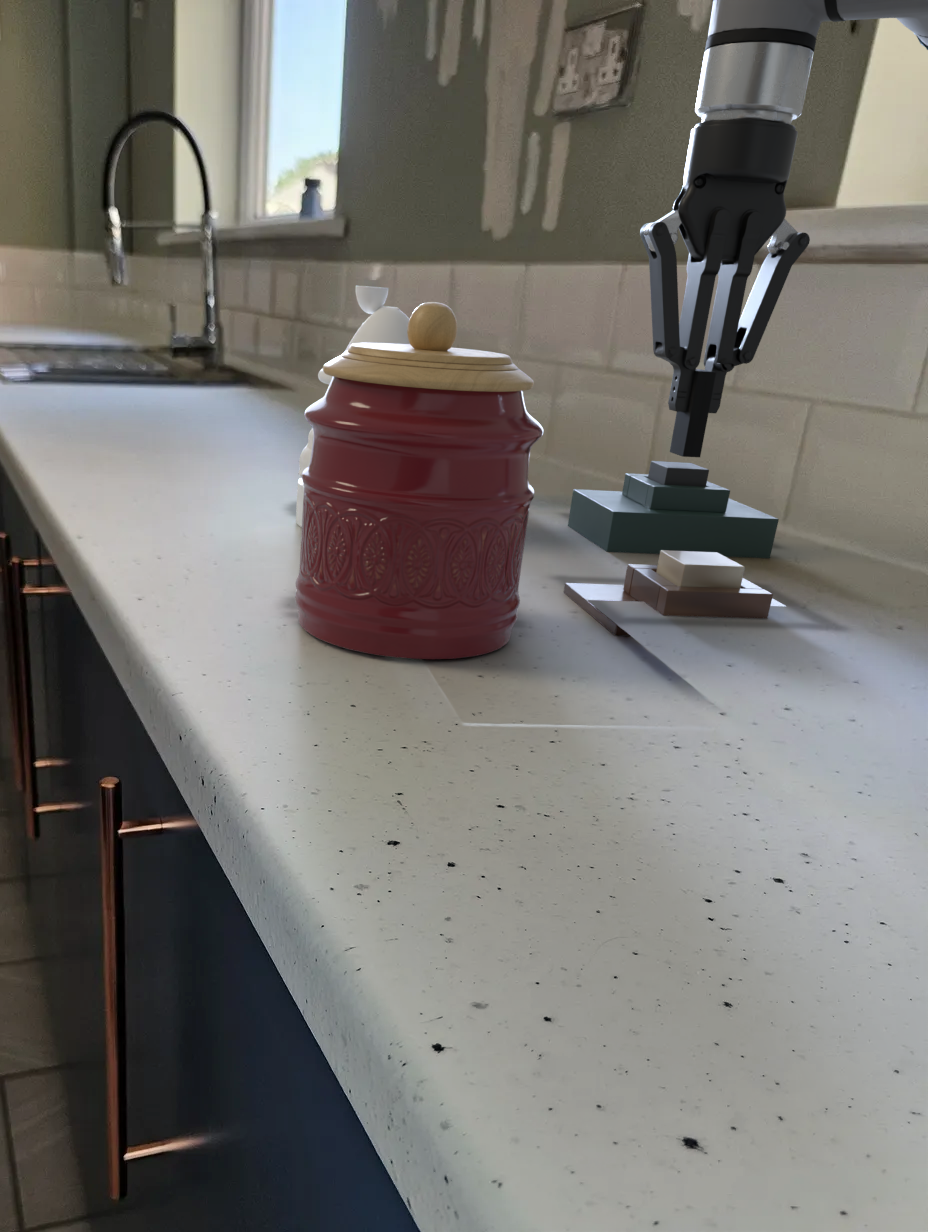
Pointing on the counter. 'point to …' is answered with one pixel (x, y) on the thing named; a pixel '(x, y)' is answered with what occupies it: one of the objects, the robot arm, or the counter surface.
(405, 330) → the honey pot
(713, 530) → the tiered step pyramid
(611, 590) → the stepped block pedestal
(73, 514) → the counter surface
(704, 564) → the ivory key
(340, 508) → the kitchen canister
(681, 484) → the ebony key
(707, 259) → the robot arm
